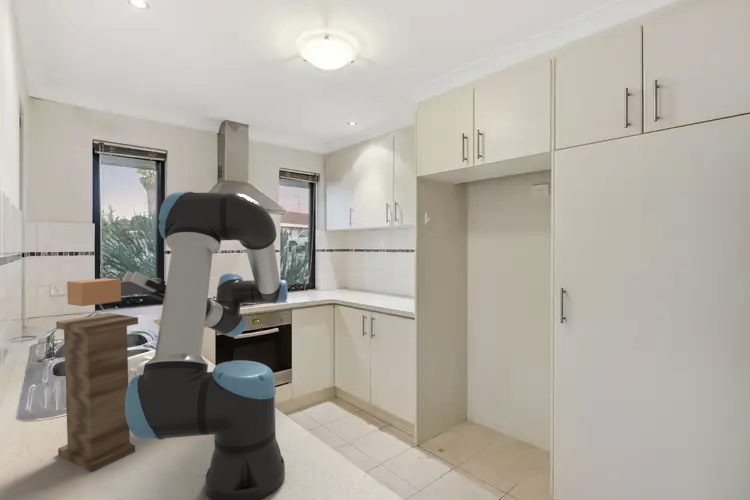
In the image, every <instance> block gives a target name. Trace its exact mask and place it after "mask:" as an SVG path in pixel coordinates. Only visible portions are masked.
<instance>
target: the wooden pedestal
mask: <svg viewBox="0 0 750 500" xmlns="http://www.w3.org/2000/svg"><path fill="white" fill-rule="evenodd" d="M55 323H56V324H55V325H56V326H55V327H56V329H57V330H63V335H64V336H63V338H64V339H63V342H64V343H63V344H64V345H63V346H64V368H65V369H64V370H65V371H64V372H65V373H64V374H65V395H66V396H65V400H66V403H65V405H66V407H65V408H66V432H67V434H66V437H67V438H66V439H67V444H66V445H63V446H60V447H58V449H57V455H58V456H60V457H61V458H63V459H66V460H67V461H70V462H71V463H73V464H75V465H77V466H79V467H81V468H82V469H85V470H87V471H89V472H91V473H93V472H95V471H97V470H99V469H101V468H103V467H105V466H107V465H109V464H111V463H114V462H115V461H117V460H120V459H123V458H125V457H126V456H128V455H130V454H132V453H134V452H136V445H135V444H134V443H131V437H130V433H131V431H130V429H129V426H128V424H127V420H126V415H125V398H126V392H127V388H128V357H129V356H128V353H129V352H128V351H129V350H128V327H129V326H134V325H138V324H139V317H136V316H130V315H125V314H124V315H123V314H118V313H111V312H108V313H102V314H96V315H90V316H89V315H88V316H82V317H77V318H70V319H69V318H68V319H64V320H58V321H56V322H55Z"/></svg>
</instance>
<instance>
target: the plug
mask: <svg viewBox="0 0 750 500" xmlns="http://www.w3.org/2000/svg"><path fill="white" fill-rule="evenodd" d="M150 278H151V279H153V280H155V281H157V282H159V284H160V283H161V281H162V278H159V277H150ZM66 285H67V286H66V288H67V291H66V292H67V305H70V306H71V305H72V306H76V307H77V306H78V307H87V306H94V305H101V304H102V305H103V304H108V303H116V302H121V301H122V297H123V296H131V295H139V294H142V293H148V292H152V291H149V290H147V289H145V288H143V287H141V286H138V285H136V284H134V283H132V282H130V280H129V281H122V280H121V278H118V279H117V278H106V277H105V278H93V279H84V280H81V279H80V280H73V281H72V280H70V281H66ZM156 291H157V290H155V292H156Z"/></svg>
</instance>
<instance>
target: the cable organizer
mask: <svg viewBox="0 0 750 500" xmlns="http://www.w3.org/2000/svg"><path fill="white" fill-rule="evenodd" d="M155 352H156V349H152V350H150V351H146V352H143V353H137V354H135V355H132V356H128V386H129V385H130V382H131V380H132V379H133V378H134V377H136V376H138V375H143V371H144V366H145V363H147V362H148V361H149V360H151V359H152V358H153V357H154V356H155Z"/></svg>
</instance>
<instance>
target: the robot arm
mask: <svg viewBox="0 0 750 500" xmlns="http://www.w3.org/2000/svg"><path fill="white" fill-rule="evenodd" d="M158 221H159V224H158V230H159V234H160V236H161V238H163V240H165V245H166V246H167V247H168V248H169V249H170V250H171V254H170V259H169V267H168V273H167V278H166V281H165V280H161V283H160V284H159V282H157V281H155V280H153V279H151V278H152V277H149V276H147V275H145V274H143V273H141V272H139V271H134V272H132V271H130V270H126V271H125V272H126V273H125V274H124V276H123V278H122V280H121V281H129V280H130V282H132V283H134V284H136V285H138V286H141V287H143V288H145V289H147V290H149V291H152V292H148V293H141V294H142V295H148V296H151V297H153V298H155V299H157V300H159V301H160V302H163V304H162V310H161V313H160V314H161V316H160V321H159V322H160V323H159V328H158V335H157V339H156V347H155V350H156V352H155V356H154V357H153V358H152V359H151V360H149V361H148V362H147V363H145V366H144V371H143V375H138V376H136V377H134V378H133V379H132V380H131V382H130V385H129V386H128V388H127V392H126V398H125V415H126V420H127V424H128V426H129V429H130V433H131V434H132V435H133V436H134V437H135V438H136V439H140V440H152V439H153V440H154V439H155V440H165V439H171V438H183V437H184V438H185V437H186V438H187V437H196V436H209V435H211V436H212V435H213V436H214V448H213V449H214V450H213V453H212V456H211V460H210V466H209V468H208V470H207V471H206V475H205V493H206V495H207V497H208V498H209V499H210V500H262V499H265V498H266V497H268V496H269V495H271V494H272V493H274V492H275V491H277V490H278V489H279V487H281V486H282V483H283V482H284V480H285V476H286V467H285V465H286V464H285V460H284V458H283V455H282V453H281V449H280V447H279V444H278V441H277V436H276V393H277V390H276V389H277V388H276V387H275V386H276V384H275V374H274V372H273V370H272V369H271V368H270V367H269V366H268V365H266V364H263V363H261V362H258V361H254V360H252V361H251V360H240V359H239V360H231V361H224V362H220V363H218V364H216V365H215V366H214V368H213V370H212V371H208V368H209V364H208V362H207V361H206V360H205V359H204V358H203V357H202V352H203V343H204V342H203V341H204V334H205V333H204V332H205V329H206V328H208V329H211V330H213V331H216V332H218V333H220V334H221V335H223V336H227V337H231V338H235V337H238V336H240V335H241V334H242V333H243V332H244V330H245V328H246V326H247V320H246V318H245V316H244V315H242V314H241V313H240V312H241V305H249V304H251V305H252V304H278V303H286V302H287V300H288V290H289V289H288V282H287V280H286V279H281V278H280V273H279V269H278V262H277V254H276V247H275V241H276V239H277V229H276V224H275V221H274V220H273V218H272V216H271V214H270V213H269V212H268V211H267V209H266V208H265V207H264V206H263V205H262V204H261V203H260V202H258V201H256V199H254V198H252V197H251V196H248V195H246V194H245V193H239V192H233V191H232V192H194V191H187V190H186V191H183V192H182V191H181V192H173V193H171V194H168V196H167V197H166V198H164V200H163V201H162V204H161V205H160V210H159V215H158ZM222 241H238V242H239V243H240V244H241V246H243V248H245V251H246V254H247V255H246V256H247V258H248V262H249V265H250V269H251V270H250V271H251V273H252V277H253V279H254V280H244V278H243V276H242V275H240V274H238V273H232V272H229V273H224V274H222V275H221V276H220V277H219V279H218V284H217V288H216V297H215V301H214V300H213V299H211V298H209V289H210V281H211V270H212V261H213V255H215V253H218V251H220V249H221V242H222ZM155 290H157V291H156V292H155Z"/></svg>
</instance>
